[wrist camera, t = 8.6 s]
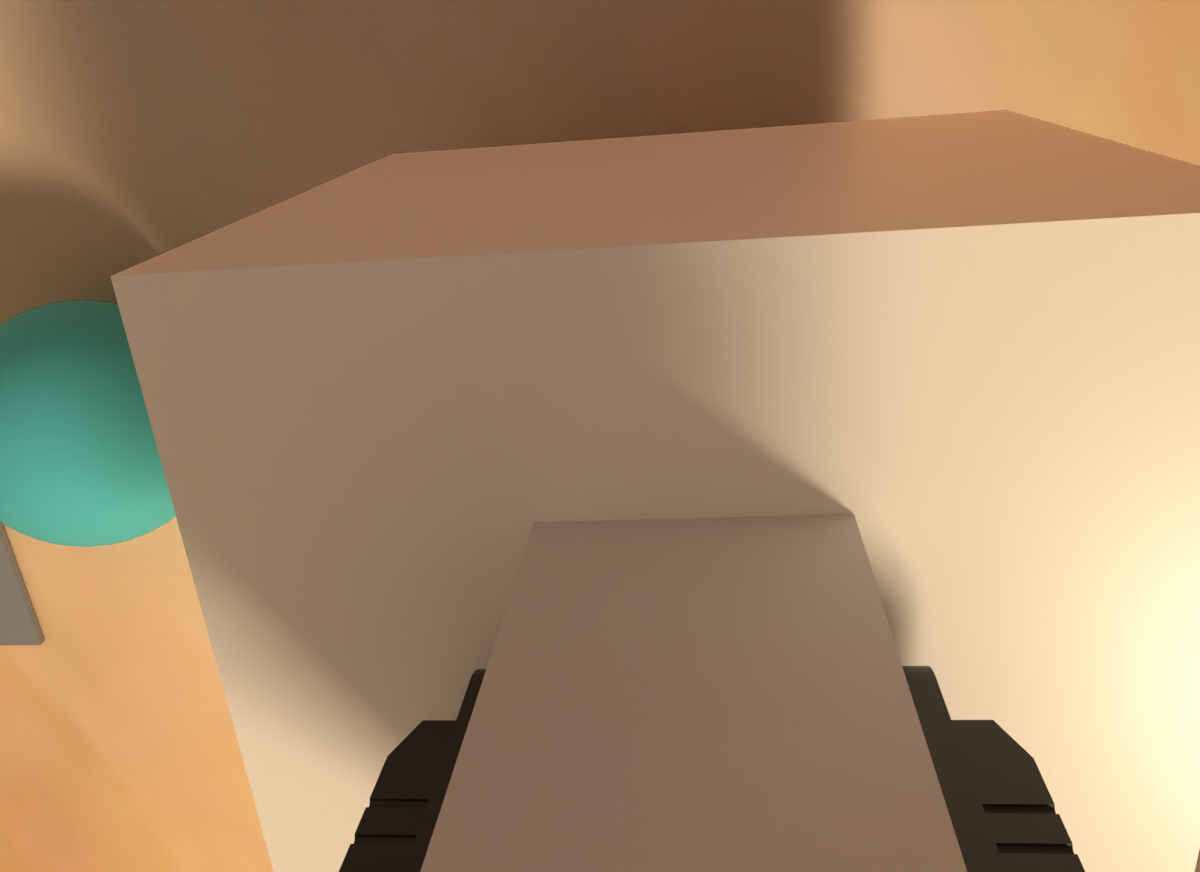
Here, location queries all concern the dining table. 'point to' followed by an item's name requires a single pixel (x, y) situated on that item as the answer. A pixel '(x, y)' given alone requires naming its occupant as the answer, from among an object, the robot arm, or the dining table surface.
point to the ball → (76, 429)
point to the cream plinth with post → (700, 489)
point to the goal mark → (15, 601)
